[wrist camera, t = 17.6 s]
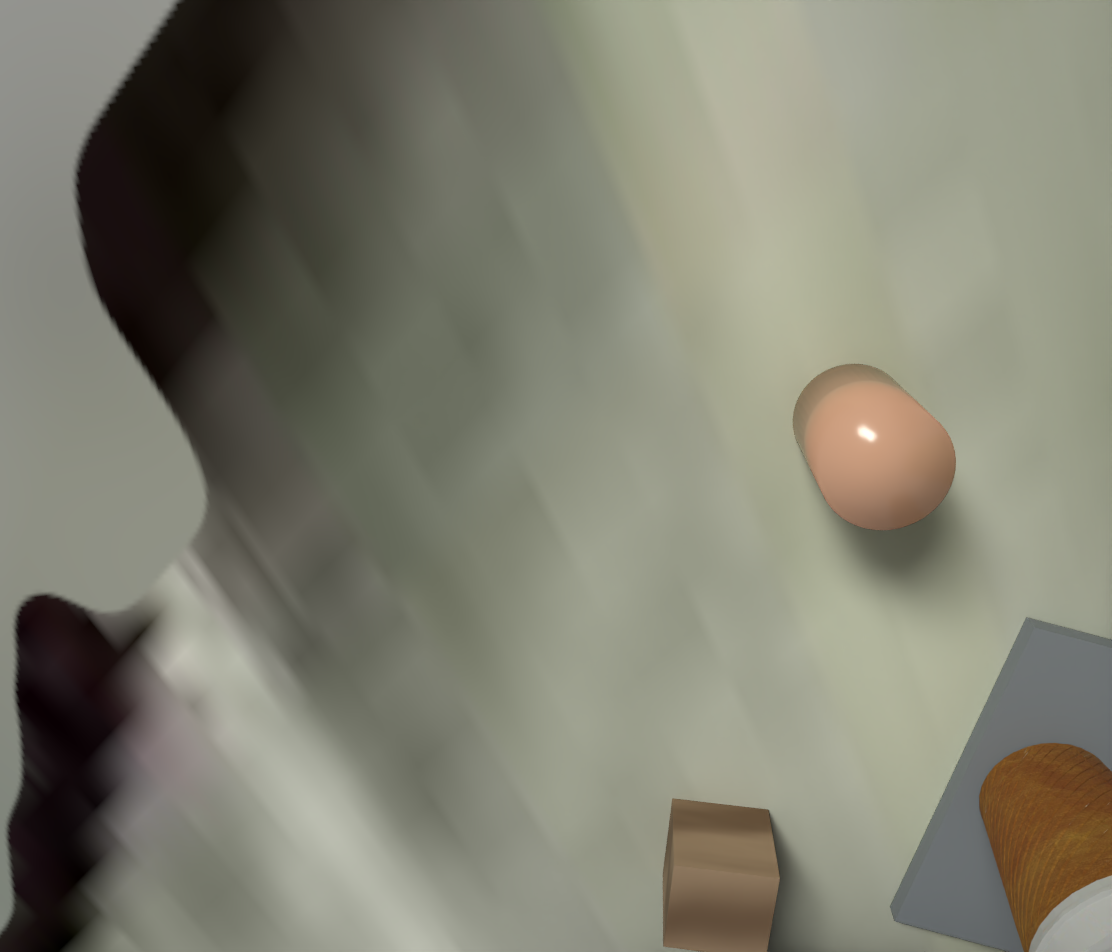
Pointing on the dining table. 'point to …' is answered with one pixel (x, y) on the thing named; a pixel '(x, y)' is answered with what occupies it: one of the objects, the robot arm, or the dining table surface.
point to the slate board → (1003, 728)
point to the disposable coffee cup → (1053, 845)
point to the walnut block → (719, 878)
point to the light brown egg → (872, 447)
